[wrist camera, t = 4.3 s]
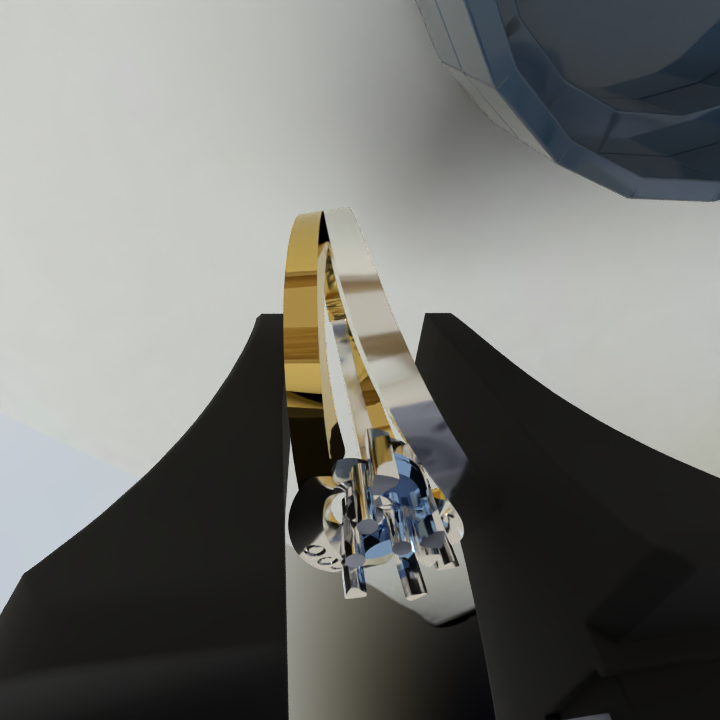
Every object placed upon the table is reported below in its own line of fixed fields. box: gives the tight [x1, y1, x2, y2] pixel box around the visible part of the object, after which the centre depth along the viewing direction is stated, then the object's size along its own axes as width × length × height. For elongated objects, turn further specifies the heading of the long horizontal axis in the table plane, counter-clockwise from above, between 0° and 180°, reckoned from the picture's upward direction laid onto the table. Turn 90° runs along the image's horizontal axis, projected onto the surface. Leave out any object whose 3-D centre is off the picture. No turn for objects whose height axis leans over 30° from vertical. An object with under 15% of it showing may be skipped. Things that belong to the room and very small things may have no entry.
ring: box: [283, 207, 496, 601], centre depth 10 cm, size 7×3×8 cm, turn 5°
